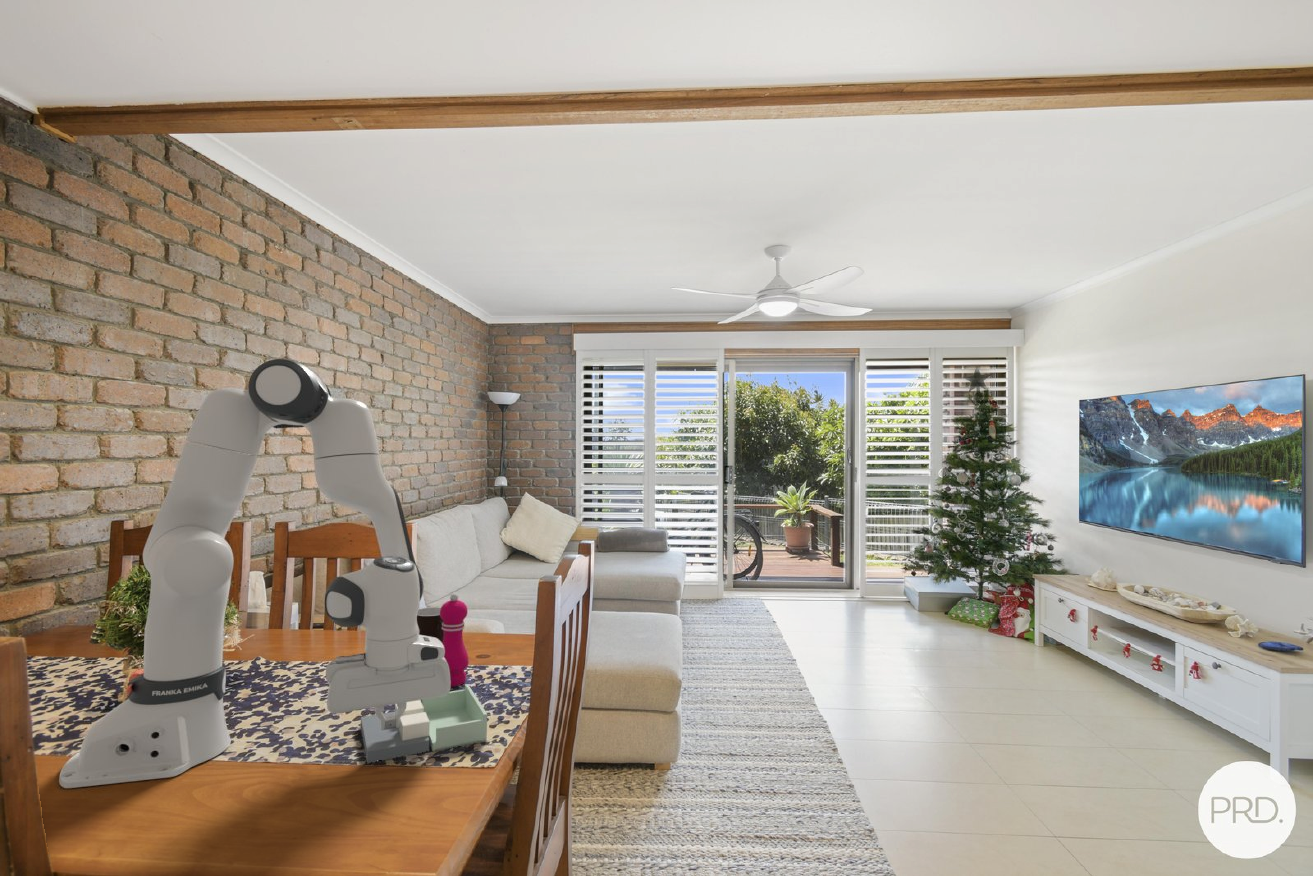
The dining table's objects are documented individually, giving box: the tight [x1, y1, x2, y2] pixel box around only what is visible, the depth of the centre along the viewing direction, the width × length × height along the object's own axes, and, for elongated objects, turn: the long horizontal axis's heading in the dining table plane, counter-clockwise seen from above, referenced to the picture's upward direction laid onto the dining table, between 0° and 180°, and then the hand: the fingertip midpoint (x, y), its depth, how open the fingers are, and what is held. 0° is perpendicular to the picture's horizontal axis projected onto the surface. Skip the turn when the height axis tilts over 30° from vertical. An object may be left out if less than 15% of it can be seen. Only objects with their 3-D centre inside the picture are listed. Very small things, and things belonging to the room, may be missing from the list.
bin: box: [421, 683, 488, 753], centre depth 123 cm, size 10×16×5 cm, turn 29°
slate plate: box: [360, 711, 430, 764], centre depth 118 cm, size 10×15×2 cm, turn 29°
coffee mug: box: [417, 606, 444, 643], centre depth 166 cm, size 12×9×10 cm
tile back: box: [394, 700, 424, 720], centre depth 122 cm, size 4×4×2 cm
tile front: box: [399, 712, 430, 741], centre depth 116 cm, size 4×4×2 cm
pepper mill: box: [440, 593, 470, 688], centre depth 146 cm, size 7×7×20 cm
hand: (389, 728), depth 114 cm, fingers closed
